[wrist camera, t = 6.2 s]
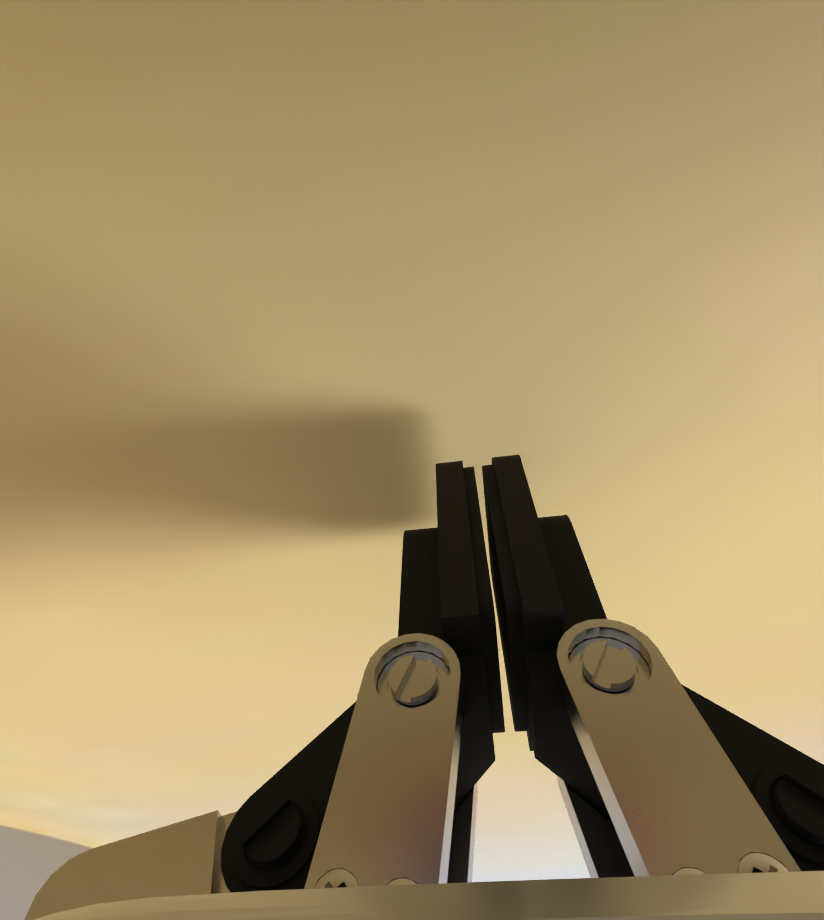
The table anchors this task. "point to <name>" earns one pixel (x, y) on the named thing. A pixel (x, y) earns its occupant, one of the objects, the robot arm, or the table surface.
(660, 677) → the robot arm
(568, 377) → the table surface
